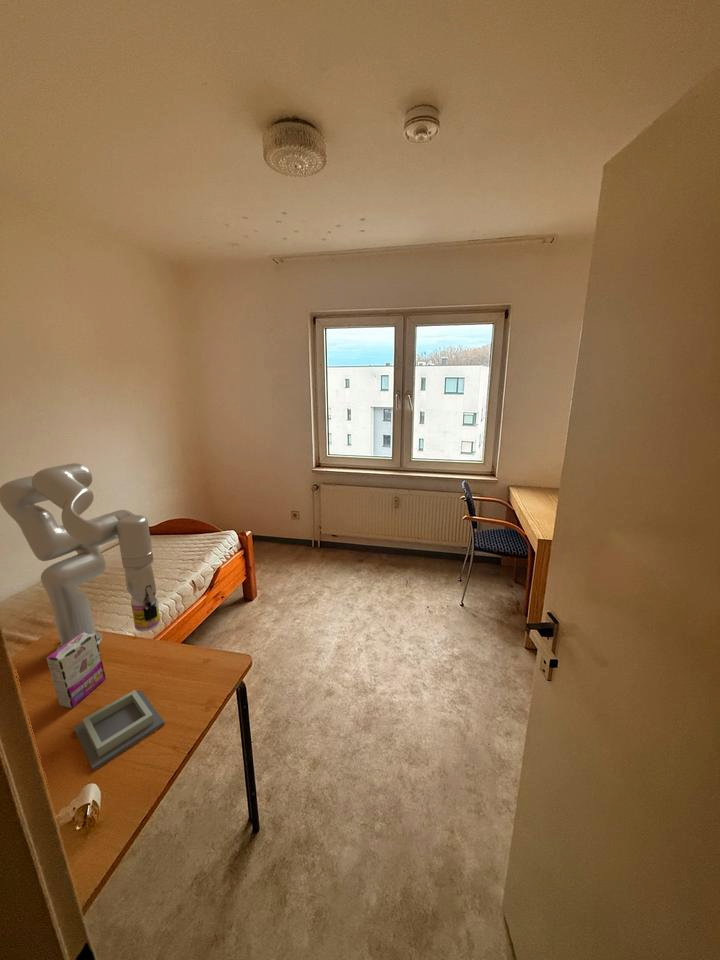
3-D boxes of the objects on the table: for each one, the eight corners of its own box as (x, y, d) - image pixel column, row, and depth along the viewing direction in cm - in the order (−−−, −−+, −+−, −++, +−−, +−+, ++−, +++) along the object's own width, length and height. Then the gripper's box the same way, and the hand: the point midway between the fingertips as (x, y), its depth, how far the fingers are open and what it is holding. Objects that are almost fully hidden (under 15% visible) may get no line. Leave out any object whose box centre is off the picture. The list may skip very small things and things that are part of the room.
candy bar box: (92, 676, 114) (82, 630, 109) (106, 678, 113) (97, 632, 108) (57, 706, 103) (44, 657, 99) (72, 709, 102) (60, 660, 98)
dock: (74, 730, 96) (71, 719, 95) (141, 692, 108) (139, 682, 107) (93, 771, 86) (90, 759, 85) (164, 724, 98) (162, 713, 97)
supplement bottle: (132, 634, 106) (125, 595, 103) (138, 620, 113) (132, 582, 109) (157, 630, 108) (152, 591, 105) (162, 616, 114) (157, 579, 111)
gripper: (112, 553, 107) (121, 607, 112) (134, 574, 96) (144, 632, 101) (140, 545, 113) (148, 596, 117) (164, 564, 102) (172, 619, 107)
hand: (146, 612), depth 109 cm, fingers closed on supplement bottle, 6 cm apart
